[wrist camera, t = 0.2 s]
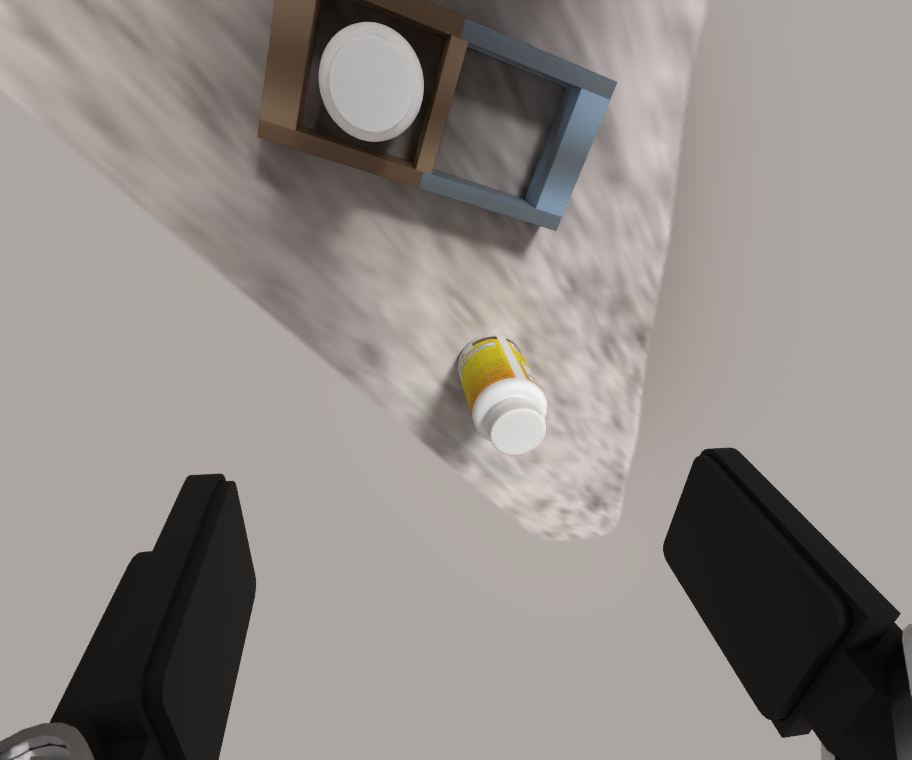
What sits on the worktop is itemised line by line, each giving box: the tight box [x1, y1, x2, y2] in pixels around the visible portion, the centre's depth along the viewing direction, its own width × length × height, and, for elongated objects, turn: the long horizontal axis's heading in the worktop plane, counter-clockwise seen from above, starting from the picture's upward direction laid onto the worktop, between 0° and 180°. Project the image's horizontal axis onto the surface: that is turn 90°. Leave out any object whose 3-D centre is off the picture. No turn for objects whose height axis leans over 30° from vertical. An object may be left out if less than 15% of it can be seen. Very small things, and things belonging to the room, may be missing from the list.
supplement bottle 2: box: [458, 335, 547, 455], centre depth 39 cm, size 6×6×10 cm
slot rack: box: [258, 0, 617, 231], centre depth 32 cm, size 9×20×3 cm, turn 72°
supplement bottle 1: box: [319, 22, 424, 142], centre depth 28 cm, size 5×5×10 cm
